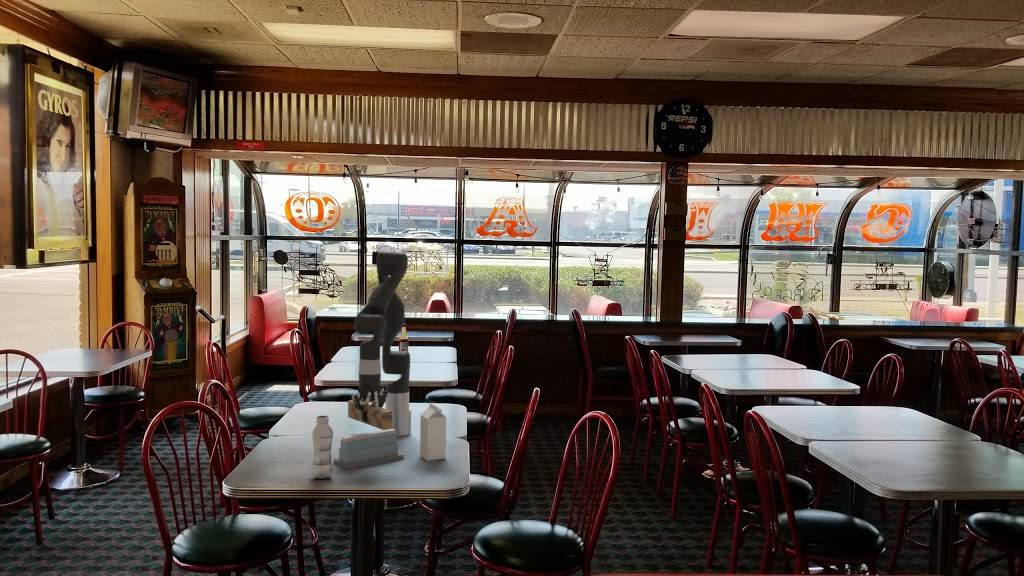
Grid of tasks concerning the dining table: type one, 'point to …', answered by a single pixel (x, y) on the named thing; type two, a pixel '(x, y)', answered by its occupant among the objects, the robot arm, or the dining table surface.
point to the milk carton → (433, 434)
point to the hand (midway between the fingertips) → (369, 420)
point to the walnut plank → (372, 416)
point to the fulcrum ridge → (368, 449)
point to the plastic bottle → (322, 449)
